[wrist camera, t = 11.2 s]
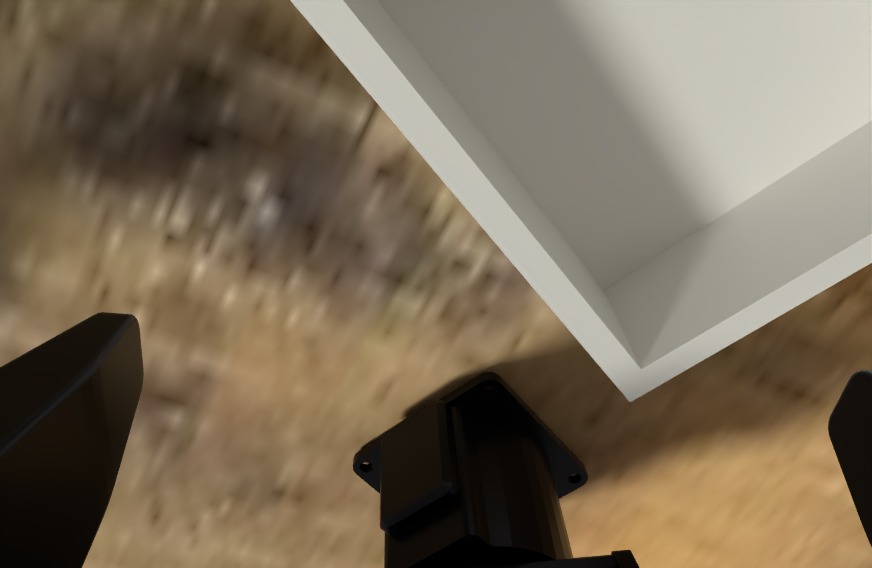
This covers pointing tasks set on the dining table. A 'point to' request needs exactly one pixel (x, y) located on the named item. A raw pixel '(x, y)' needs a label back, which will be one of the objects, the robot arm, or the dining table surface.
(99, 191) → the dining table surface
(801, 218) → the open box
